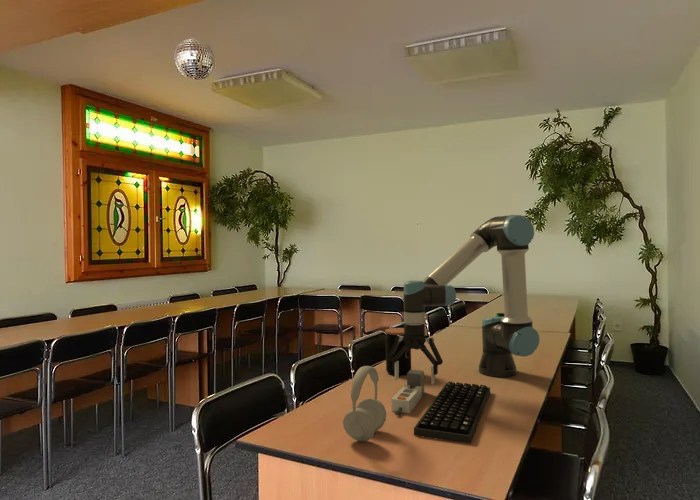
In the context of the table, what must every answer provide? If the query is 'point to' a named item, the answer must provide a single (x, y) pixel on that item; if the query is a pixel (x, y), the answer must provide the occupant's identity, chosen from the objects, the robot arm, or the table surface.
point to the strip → (406, 399)
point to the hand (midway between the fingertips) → (414, 381)
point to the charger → (416, 379)
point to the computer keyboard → (454, 413)
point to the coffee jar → (405, 356)
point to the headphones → (364, 409)
